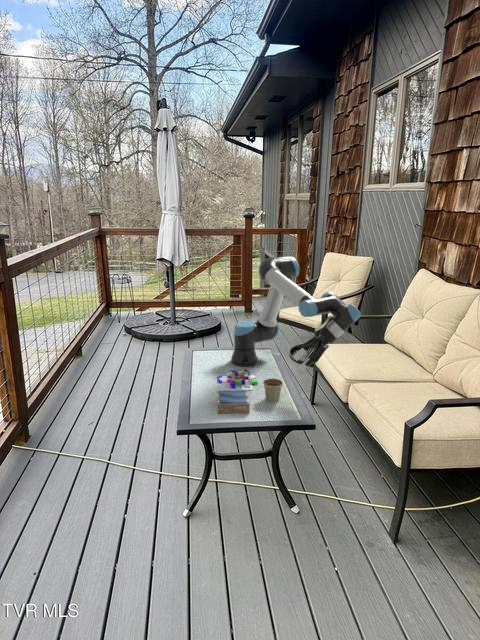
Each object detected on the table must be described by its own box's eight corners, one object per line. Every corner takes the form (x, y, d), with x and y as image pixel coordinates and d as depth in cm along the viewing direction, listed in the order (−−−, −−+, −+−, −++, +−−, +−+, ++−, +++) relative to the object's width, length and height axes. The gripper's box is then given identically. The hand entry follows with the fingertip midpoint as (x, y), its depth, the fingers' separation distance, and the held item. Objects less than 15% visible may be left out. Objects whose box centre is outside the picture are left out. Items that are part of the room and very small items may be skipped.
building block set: (218, 371, 233) (217, 364, 231) (255, 371, 233) (255, 364, 232) (216, 391, 209) (216, 383, 207) (258, 391, 209) (258, 383, 208)
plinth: (217, 399, 199) (217, 390, 197) (247, 399, 200) (247, 389, 198) (217, 414, 185) (217, 404, 184) (249, 413, 186) (249, 403, 185)
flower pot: (259, 397, 202) (259, 380, 200) (276, 393, 206) (277, 377, 203) (268, 405, 194) (268, 388, 191) (286, 401, 197) (286, 384, 195)
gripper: (345, 346, 181) (308, 380, 184) (329, 329, 205) (297, 359, 208) (333, 335, 180) (297, 369, 183) (319, 319, 204) (287, 349, 207)
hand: (297, 364), depth 195 cm, fingers open, 13 cm apart
